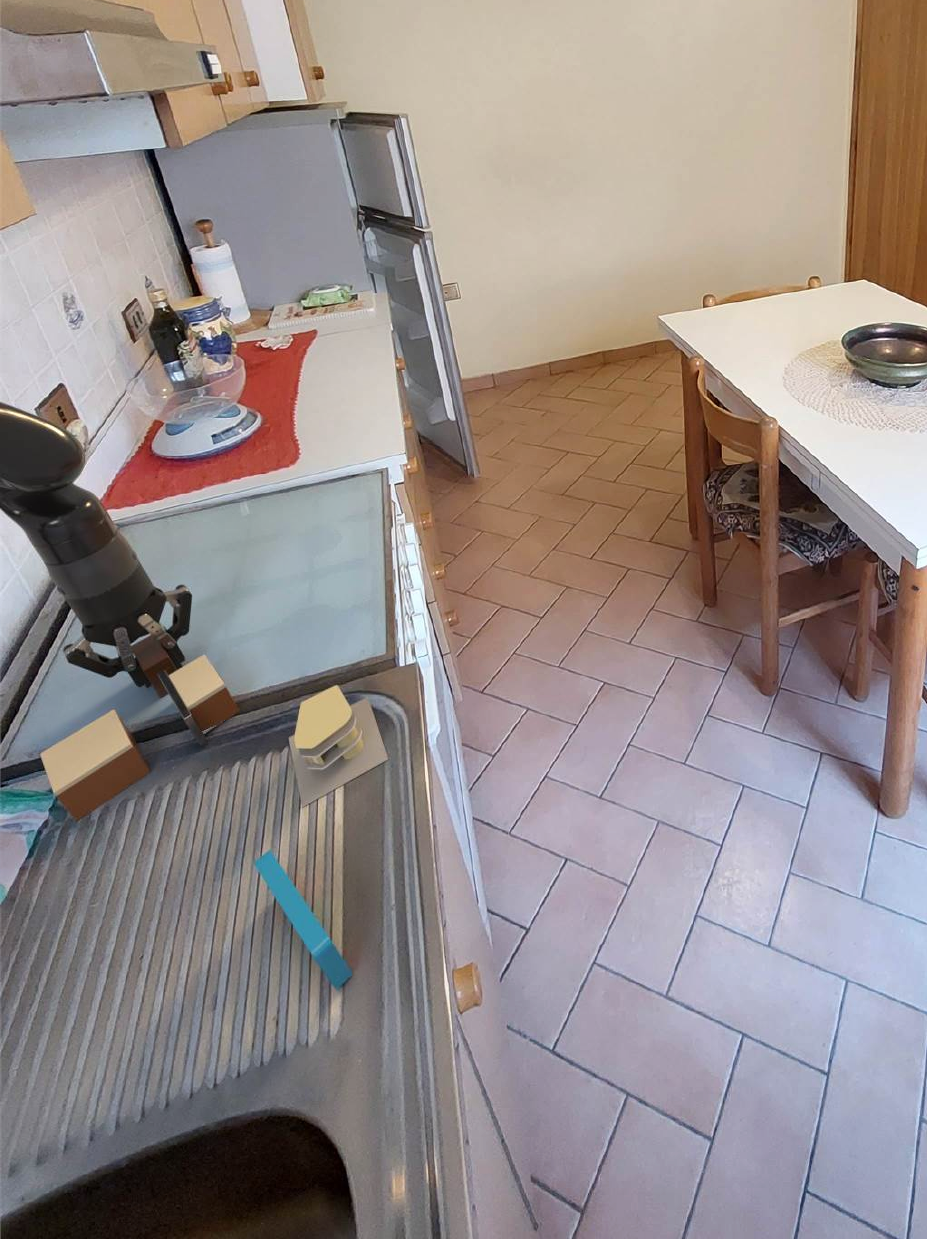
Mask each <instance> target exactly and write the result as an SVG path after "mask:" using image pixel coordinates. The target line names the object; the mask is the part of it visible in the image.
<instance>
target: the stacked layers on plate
mask: <svg viewBox="0 0 927 1239" xmlns="http://www.w3.org/2000/svg"><path fill="white" fill-rule="evenodd" d="M288 742H289V747H290V753H291V758H292V763H293V768H294V773H295V778H296V783H297V788H298V794H299V798H300V804H301V808H305V807H306V806H307V805H309V804H311V803H313V802H314V801H316V800H318V799H320V798H322V797H323V796H325V795H327V794H329V793H331V792H333V791H334V790H336V789H338V788H340V787H341V786H344V785H345V784H347V783H348V782H350V781H352V780H354V779H356V778H357V777H359V776H361V775H363V774H365V773H366V772H368V771H370V770H372V769H373V768H375V767H377V766H379V765H381V764H383V763H384V762H386V761H388V760H389V756H388V754H387V750H386V747H385V744H384V741H383V739H382V735H381V732H380V728H379V726H378V723H377V720H376V717H375V714H374V711H373V708H372V705H371V702H370V698H369V697H368V696H366V697H364V698H363V699H361V700H359V701H357V702H355V703H353V704H351V705H350V704H349V702H348V701H347V699H346V697H345V695H344V694H343V692H342V691H341V689H340V687H339V685H337V684H336V685H333V686H332V687H331V686H330V687H329V688H327V689H325V690H324V691H322V692H320V693H317V694H315V695H314V696H311V697H310V698H308V699H305V700H303V701H301V702H300V704H299V711H298V716H297V721H296V727H295V731H294V734H293V735H290V736H289V737H288Z"/></svg>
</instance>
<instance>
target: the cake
mask: <svg viewBox="0 0 927 1239" xmlns="http://www.w3.org/2000/svg"><path fill="white" fill-rule="evenodd" d="M138 747H139V745H138V743H137V741H136V738H135V737H134V735H133V734H132V732H131V731H130V730H129V728H128V726H127V725H126V723H125V722H124V721H123V719H121V717H120V715H119V714H118V713H117V711H116V710H115V709H112V710H110V711H108V712H106V713H105V714H103V715H101V716H100V717H98V718H97V719H95V720H94V721H92V722H90V723H88V724H87V725H85V726H83V727H81V729H78V730H77V731H75V732H73V733H72V734H70V735H68V736H67V737H65V738H64V739H62V740H60V741H59V742H57V743H55V744H54V745H52V746H50V747H49V748H47V749H45V750H44V751H42V752H40V753H39V755H40V759H41V761H42V764H43V767H44V770H45V773H46V776H47V779H48V781H49V784H50V788H51V790H52V792H53V794H54V796H55V797H56V799H58V800H59V802H60V803H61V804H62V806H64V808H65V809H66V810H67V811H68V812H69V814H70V815H71V816H72V817H73V818H74V820H76V821H80V820H81V819H83V818H84V817H85V816H87V815H89V814H90V813H91V812H93V811H94V810H96V809H97V808H99V807H100V806H102V805H103V804H105V803H107V802H108V801H109V800H111V799H112V798H114V797H116V795H118V794H120V793H121V792H123V791H124V790H126V789H127V788H128V787H131V785H133V784H134V783H136V782H138V781H140V780H141V779H142V778H144V777H146V776H147V775H148V774H149V773H151V771H152V770H151V769H150V767H149V765H148V763H147V760H146V759H145V757H144V755H143V754H141V753H142V751H141V749H140V747H139V748H138ZM139 749H140V750H139ZM140 751H141V752H140ZM142 755H143V756H142ZM143 757H144V758H143Z"/></svg>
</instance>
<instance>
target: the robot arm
mask: <svg viewBox="0 0 927 1239" xmlns="http://www.w3.org/2000/svg"><path fill="white" fill-rule="evenodd" d="M85 465H86V452H85V449H84V446H83V445H82V443H81V441H80V440H79V439H78V437H77V436H76V435H74V434H73V433H72V432H70V431H69V430H68V429H66V428H64V427H62V426H61V425H58V424H56V423H54V422H52V421H50V420H47V419H46V418H43V417H42V416H41V417H40V416H38V415H35V414H33V413H30V412H28V411H26V410H23V409H20V408H18V407H15V406H13V405H10V404H8V403H6V402H2V401H0V511H2V512H3V513H4V514H5V515H6V516H7V517H8V518H9V519H11V521H13V522H14V523H15V524H17V526H18V527H20V529H22V531H23V533H25V535H26V538H27V539H28V541H29V542H30V544H31V545H32V547H33V548H34V550H35V551H36V553H37V554H38V556H39V557H40V559H41V560H42V561H43V563H44V565H45V568H46V570H47V572H48V574H49V576H50V579H51V580H52V582H53V583H54V585H55V586H56V590H57V591H58V592H59V594H60V595H62V597H63V598H64V600H65V601H66V602H67V604H68V606H69V607H70V608H71V610H72V611H73V613H74V615H75V616H76V617H77V619H78V621H79V622H80V623H81V626H82V627H81V634H82V635H81V636H80V637H79V638H78V639H77V640H76V641H75V642H74V643H69V644H66V645H65V646H64V647H63V649H62V652H63V654H64V656H65V659H66V661H67V662H68V664H71V665H73V666H76V667H78V668H81V669H84V670H86V671H89V672H92V673H94V674H97V675H100V676H103V677H105V678H111V679H112V678H113V677H115V676H117V675H118V674H119V673H121V672H126V673H127V674H128V675H129V677H130V678H131V680H132V681H133V683H134V684H135V686H136V687H138V688H142V687H143V686H145V688H146V689H148V688H150V687H151V686H152V684H151V682H150V681H149V679H148V678H147V676H146V675H145V673H144V672H143V670H142V668H141V666H140V665H139V663H138V661H137V659H136V657H135V656H134V654H133V650H132V647H131V646H132V645H133V643H136V641H137V640H139V639H140V638H142V637H145V636H149V635H152V636H153V637H154V638H155V639H156V640H158V641H159V642H160V643H161V645H162V646H163V648H164V649H165V651H166V653H167V654H168V656H169V657H170V659H171V661H172V662H173V664H174V666H175V667H176V669H177V670H179V669H180V668H182V667H184V666H183V664H182V663H183V662H185V661H186V657H185V654H184V653H183V651H182V650H181V648H180V645H179V644H178V641H179V640H180V638H181V637H184V636H186V635H188V633H189V632H190V627H191V626H190V625H191V615H192V604H193V594H192V592H191V591H190V590H189V589H188V587H187V586H186V585H185V584H179V585H177V586H176V587H175V588H174V589H172V590H167V591H163V590H162V589H161V588H158V587H156V586H155V585H154V583H153V582H152V580H151V578H150V577H149V575H148V573H147V571H146V570H145V568H144V566H143V565H142V563H141V560H139V558H138V555H137V553H136V551H135V550H134V549H133V548H132V546H131V544H130V543H129V541H128V540H127V539H126V538H125V536H124V535H123V534H122V533H121V531H120V530H119V529H118V528H117V525H116V524H115V522H114V521H113V519H112V517H111V516H110V514H109V512H108V510H107V509H106V507H105V506H104V504H103V503H102V501H101V500H100V499H99V497H97V495H95V493H93V492H91V491H89V490H87V489H85V488H83V487H80V486H78V485H77V484H75V483H74V482H75V481H76V480H77V479H78V478H79V477H80V476H81V474H82V472H83V471H84V469H85ZM166 603H169V605H170V607H171V608H172V609H173V611H172V621H171V626H169V628H166V626H164V625H163V624H162V622H161V618H162V615H163V612H164V609H165V606H166ZM91 643H92V644H93V643H94V644H99V645H105V646H110V647H114V648H115V650H116V653H117V657H114V658H111V657H108V656H106V655H103V654H100V653H97V652H96V651H94V649H93V647H92V645H91ZM152 687H153V686H152Z"/></svg>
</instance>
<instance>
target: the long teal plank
mask: <svg viewBox="0 0 927 1239" xmlns="http://www.w3.org/2000/svg"><path fill="white" fill-rule="evenodd" d="M253 865H254V866H255V868H256V870H257V871H258V873H259V874H260V876H261V878H262V879H263V881H264V882H265V884H266V885H267V887H268V888H269V890H270V892H271V893H272V895H273V896H274V898H275V900H276V901H277V903H278V904H279V906H280V908H281V909H282V910H283V912H284V914H285V915H286V917H287V918H288V920H289V922H290V923H291V924H292V926H293V928H294V929H295V931H296V933H297V934H298V936H299V937H300V939H301V940H302V942H303V943H304V945H305V947H306V948H307V949H308V951H309V953H310V954H311V956H312V958H313V959H314V960H315V962H316V963H317V964H318V966H319V968H320V969H321V970H322V972H323V973H324V975H325V976H326V978H327V979H328V980H329V982H330V983H331V985H332V986H333V989H335V991H338V990H339V989H340V988H341V987H342V986H343V985H344V983H345V982H347V980H348V979H349V978H350V977H352V975H353V972H352V971H351V969H350V967H349V966H348V964H347V962H346V961H345V960H344V957H342V955H341V953H340V952H339V951H338V949H337V947H336V946H335V944H334V943H333V942H332V939H331V938H330V937H329V935H328V933H327V932H326V930H325V929H324V928H323V926H322V924H321V923H320V922H319V920H318V919H317V918H316V916H315V914H314V913H313V911H312V910H311V908H310V907H309V905H308V904H307V903H306V901H305V900H304V898H303V897H302V895H301V894H300V892H299V891H298V889H297V888H296V886H295V884H294V883H293V881H292V880H291V878H290V877H289V876H288V874H287V873H286V871H285V870H284V868H283V867H282V865H281V864H280V863H279V861H278V859H277V858H276V856H275V854H274V853H273V852H272V851H271V849H268V850H267V851H266V852H265V853H264V854H262V855H261V856H260V857H259V858H257V859H256V860H255V861H254V862H253Z"/></svg>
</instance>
